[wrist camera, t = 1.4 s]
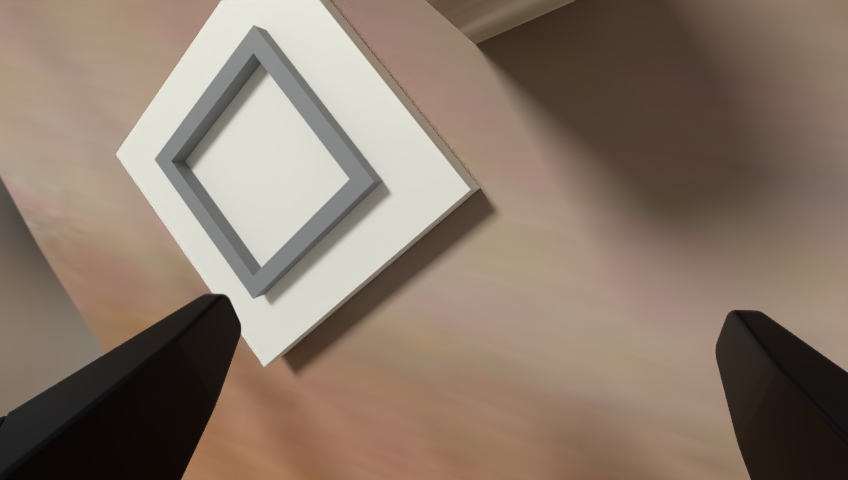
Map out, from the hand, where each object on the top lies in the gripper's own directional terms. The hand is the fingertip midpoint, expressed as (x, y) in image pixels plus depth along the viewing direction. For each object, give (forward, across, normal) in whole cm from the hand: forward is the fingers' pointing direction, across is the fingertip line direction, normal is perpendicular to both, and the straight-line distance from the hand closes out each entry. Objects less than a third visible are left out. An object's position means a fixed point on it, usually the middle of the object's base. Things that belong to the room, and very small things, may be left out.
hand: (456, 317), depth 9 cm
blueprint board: (+13, +10, +4) cm, 17 cm away
